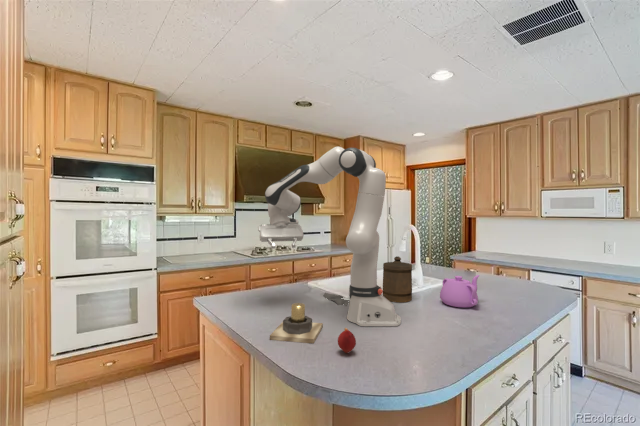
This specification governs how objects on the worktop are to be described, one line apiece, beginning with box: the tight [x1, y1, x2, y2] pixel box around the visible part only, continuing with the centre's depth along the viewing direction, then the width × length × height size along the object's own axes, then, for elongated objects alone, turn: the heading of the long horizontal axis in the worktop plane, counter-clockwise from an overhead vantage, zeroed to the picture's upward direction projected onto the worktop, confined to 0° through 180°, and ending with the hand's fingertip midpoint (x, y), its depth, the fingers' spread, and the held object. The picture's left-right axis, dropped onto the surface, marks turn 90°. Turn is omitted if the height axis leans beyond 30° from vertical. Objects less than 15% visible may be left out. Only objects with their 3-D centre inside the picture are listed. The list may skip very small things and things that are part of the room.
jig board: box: [269, 315, 324, 344], centre depth 120 cm, size 16×16×5 cm
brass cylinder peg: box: [290, 302, 306, 323], centre depth 120 cm, size 5×5×9 cm
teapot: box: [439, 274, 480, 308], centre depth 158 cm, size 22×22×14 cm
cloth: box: [323, 292, 350, 307], centre depth 166 cm, size 26×14×2 cm, turn 12°
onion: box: [337, 327, 357, 354], centre depth 103 cm, size 6×6×8 cm
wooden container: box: [382, 256, 413, 303], centre depth 167 cm, size 15×15×22 cm
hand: (283, 247), depth 145 cm, fingers open, 8 cm apart
